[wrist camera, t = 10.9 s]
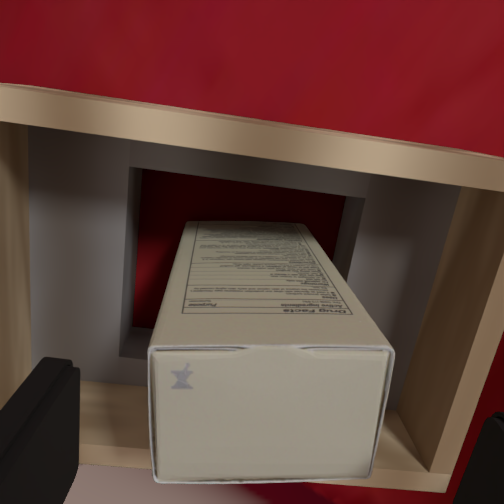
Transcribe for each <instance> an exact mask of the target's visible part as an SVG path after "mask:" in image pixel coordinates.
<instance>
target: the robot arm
mask: <svg viewBox="0 0 504 504" xmlns="http://www.w3.org/2000/svg"><path fill="white" fill-rule="evenodd" d="M79 434H80V368H79V367H73V362H72V360H70V359H62V358H54V357H43V358H42V359H41V360H40V362H39V363H38V364H37V365H36V367H35V368H34V369H33V370H32V372H31V373H30V374H29V375H28V376H27V378H26V379H25V380H24V381H23V383H22V384H21V385H20V386H19V388H18V389H17V390H16V391H15V393H14V394H13V395H12V396H11V398H10V399H9V400H8V401H7V403H6V404H5V405H4V406H3V408H2V409H1V410H0V504H63V502H64V501H65V498H66V496H67V494H68V492H69V489H70V488H71V486H72V483H73V481H74V479H75V476H76V473H77V470H78V465H79ZM453 504H504V412H495V413H494V414H493V415H492V416H491V417H489V418H487V419H486V420H485V422H484V424H483V426H482V429H481V432H480V434H479V437H478V439H477V442H476V444H475V447H474V449H473V452H472V455H471V457H470V460H469V462H468V465H467V467H466V470H465V472H464V475H463V477H462V480H461V483H460V485H459V488H458V490H457V493H456V495H455V498H454V500H453Z"/></svg>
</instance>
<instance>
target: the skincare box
mask: <svg viewBox="0 0 504 504" xmlns="http://www.w3.org/2000/svg"><path fill="white" fill-rule="evenodd" d="M147 356H148V420H149V439H150V456H151V464H152V476H153V480H154V481H155V482H156V483H162V484H164V483H177V484H243V483H281V482H313V481H335V480H354V479H369V478H370V477H371V475H372V471H373V466H374V460H375V456H376V452H377V448H378V443H379V438H380V433H381V429H382V425H383V419H384V413H385V408H386V403H387V399H388V394H389V389H390V383H391V377H392V371H393V366H394V360H395V351H394V349H393V348H392V346H391V345H390V343H389V342H388V340H387V339H386V338H385V336H384V335H383V334H382V332H381V331H380V329H379V328H378V327H377V325H376V324H375V322H374V321H373V319H372V318H371V317H370V316H369V314H368V313H367V311H366V310H365V308H364V307H363V306H362V304H361V303H360V301H359V300H358V299H357V297H356V296H355V294H354V293H353V292H352V290H351V289H350V287H349V286H348V284H347V283H346V282H345V280H344V279H343V278H342V276H341V275H340V273H339V272H338V270H337V269H336V268H335V266H334V265H333V263H332V262H331V261H330V259H329V258H328V257H327V255H326V254H325V252H324V251H323V249H322V248H321V246H320V245H319V244H318V242H317V241H316V239H315V238H314V237H313V235H312V234H311V232H310V231H309V230H308V228H307V227H306V225H304V224H301V223H286V222H263V221H188V222H186V224H185V227H184V230H183V234H182V237H181V240H180V243H179V247H178V250H177V253H176V257H175V260H174V264H173V267H172V270H171V273H170V277H169V280H168V284H167V287H166V291H165V294H164V297H163V301H162V304H161V308H160V311H159V314H158V318H157V321H156V324H155V327H154V330H153V333H152V337H151V340H150V343H149V347H148V352H147Z"/></svg>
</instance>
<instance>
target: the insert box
mask: <svg viewBox="0 0 504 504" xmlns="http://www.w3.org/2000/svg"><path fill="white" fill-rule="evenodd" d="M143 168H145V169H152V170H160V171H167V172H174V173H182V174H189V175H196V176H204V177H211V178H218V179H226V180H233V181H240V182H248V183H255V184H263V185H270V186H277V187H285V188H292V189H299V190H307V191H314V192H321V193H329V194H336V195H343V196H346V199H345V204H344V209H343V213H342V218H341V223H340V228H339V232H338V237H337V242H336V247H335V251H334V256H333V261H332V263H333V265H334V266H335V268H336V269H337V270H338V272H339V273H340V275H341V276H342V278H343V279H344V280H345V282H346V283H347V284H348V286H349V287H350V289H351V290H352V292H353V293H354V294H355V296H356V297H357V299H358V300H359V301H360V303H361V304H362V306H363V307H364V308H365V310H366V311H367V313H368V314H369V316H370V317H371V318H372V319H373V321H374V322H375V324H376V325H377V327H378V328H379V329H380V331H381V332H382V334H383V335H384V336H385V338H386V339H387V340H388V342H389V343H390V345H391V346H392V348H393V349H394V351H395V360H394V366H393V371H392V377H391V383H390V389H389V394H388V399H387V403H386V408H385V413H384V419H383V425H382V429H381V433H380V438H379V443H378V448H377V452H376V456H375V460H374V466H373V471H372V475H371V477H370V478H369V479H354V480H335V481H313V482H315V483H328V484H340V485H353V486H365V487H378V488H390V489H403V490H415V491H428V492H441V493H445V492H446V489H447V486H448V484H449V481H450V478H451V475H452V472H453V470H454V467H455V464H456V461H457V459H458V456H459V453H460V450H461V447H462V445H463V442H464V439H465V436H466V434H467V431H468V428H469V425H470V422H471V420H472V417H473V414H474V411H475V409H476V406H477V403H478V400H479V397H480V395H481V392H482V389H483V386H484V384H485V381H486V378H487V375H488V372H489V370H490V367H491V364H492V361H493V359H494V356H495V353H496V350H497V347H498V345H499V342H500V339H501V336H502V334H503V331H504V158H502V157H497V156H492V155H487V154H482V153H477V152H472V151H467V150H461V149H455V148H449V147H442V146H435V145H428V144H422V143H415V142H408V141H401V140H395V139H388V138H381V137H375V136H368V135H361V134H354V133H348V132H341V131H334V130H327V129H321V128H314V127H307V126H300V125H294V124H287V123H280V122H273V121H267V120H260V119H253V118H246V117H240V116H233V115H226V114H219V113H213V112H206V111H199V110H192V109H186V108H179V107H172V106H165V105H159V104H152V103H145V102H138V101H132V100H125V99H118V98H112V97H105V96H98V95H91V94H85V93H78V92H71V91H64V90H58V89H51V88H44V87H37V86H29V85H18V84H7V83H0V410H1V409H2V408H3V406H4V405H5V404H6V403H7V401H8V400H9V399H10V398H11V396H12V395H13V394H14V393H15V391H16V390H17V389H18V388H19V386H20V385H21V384H22V383H23V381H24V380H25V379H26V378H27V376H28V375H29V374H30V373H31V372H32V370H33V369H34V368H35V367H36V365H37V364H38V363H39V362H40V360H41V359H42V358H43V357H54V358H62V359H70V360H72V362H73V367H79V368H80V434H79V464H90V465H103V466H115V467H127V468H140V469H152V464H151V456H150V439H149V420H148V356H147V352H148V347H149V343H150V340H151V337H152V333H153V330H154V329H150V328H140V327H132V325H133V310H134V294H135V278H136V263H137V247H138V232H139V216H140V201H141V185H142V170H143Z"/></svg>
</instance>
